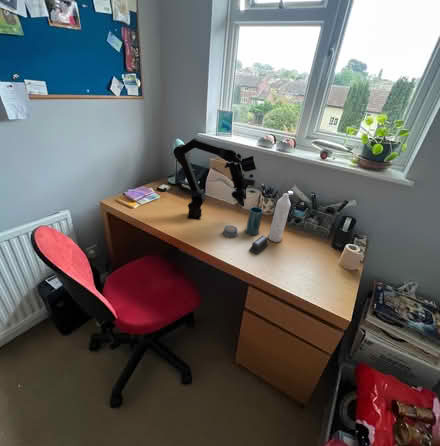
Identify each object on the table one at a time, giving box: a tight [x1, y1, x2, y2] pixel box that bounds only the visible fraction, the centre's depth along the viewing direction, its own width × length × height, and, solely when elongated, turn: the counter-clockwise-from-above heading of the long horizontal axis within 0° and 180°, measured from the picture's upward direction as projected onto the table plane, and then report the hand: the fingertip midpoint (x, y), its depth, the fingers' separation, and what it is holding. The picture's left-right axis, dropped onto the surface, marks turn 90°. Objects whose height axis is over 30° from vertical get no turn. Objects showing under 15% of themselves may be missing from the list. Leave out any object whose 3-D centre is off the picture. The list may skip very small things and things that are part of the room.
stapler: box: [249, 235, 269, 255], centre depth 116 cm, size 10×4×4 cm, turn 142°
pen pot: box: [245, 206, 264, 236], centre depth 126 cm, size 7×7×13 cm
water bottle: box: [267, 190, 294, 243], centre depth 120 cm, size 9×6×25 cm
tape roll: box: [223, 224, 238, 238], centre depth 125 cm, size 7×7×3 cm
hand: (244, 202), depth 127 cm, fingers open, 9 cm apart
